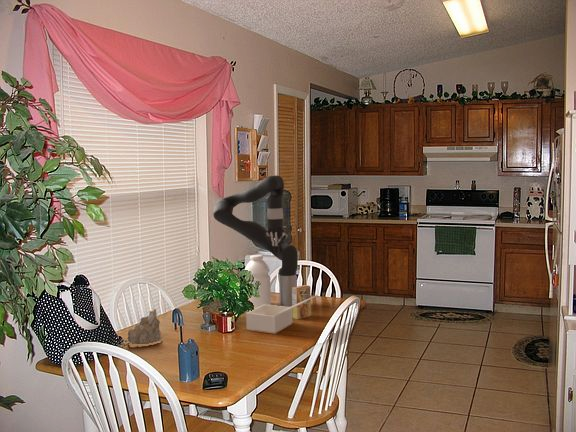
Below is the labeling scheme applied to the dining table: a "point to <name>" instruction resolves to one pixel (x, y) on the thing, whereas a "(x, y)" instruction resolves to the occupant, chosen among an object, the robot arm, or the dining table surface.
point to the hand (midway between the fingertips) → (276, 253)
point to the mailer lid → (297, 304)
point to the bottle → (260, 274)
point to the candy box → (299, 296)
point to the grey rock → (146, 330)
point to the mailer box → (268, 319)
